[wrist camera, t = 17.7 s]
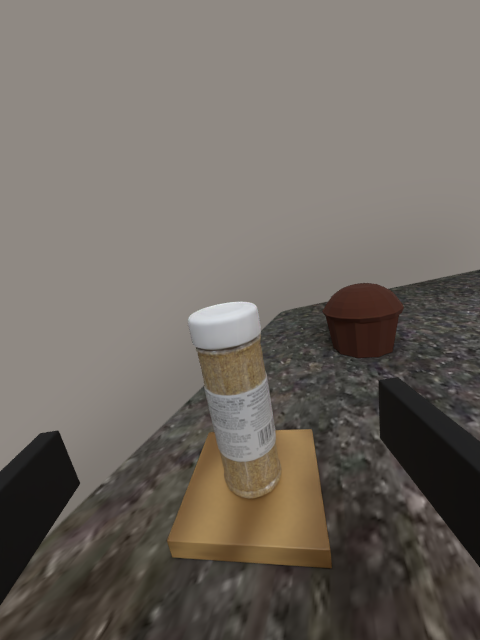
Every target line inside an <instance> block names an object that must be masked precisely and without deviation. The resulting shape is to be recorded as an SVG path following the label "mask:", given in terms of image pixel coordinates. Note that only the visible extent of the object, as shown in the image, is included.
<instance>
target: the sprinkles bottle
mask: <svg viewBox="0 0 480 640" xmlns="http://www.w3.org/2000/svg"><path fill="white" fill-rule="evenodd" d="M188 324H189V330H190V334H191V339H192V343H193V345H194V346H196V351H197V352H198V356H199V360H200V365H201V369H202V374H203V378H204V384H205V385H204V388H205V393H206V397H207V402H208V406H209V410H210V415H211V419H212V423H213V428H214V432H215V436H216V441H217V445H218V448H219V450H220V454H221V459H222V463H223V467H224V478H225V482H226V484H227V486H228V488H229V490H231V491H232V492H233V493H235V494H236V495H238V496H240V497H243V498H248V499H250V498H257V497H260V496H263V495H265V494H267V493H269V492H271V491H272V490H273V489H274V488H275V487H276V485H277V483H278V482H279V480H280V477H281V470H282V469H281V464H280V460H279V459H278V453H277V447H276V432H275V426H274V419H273V413H272V406H271V399H270V393H269V386H268V380H267V374H266V372H265V368H264V362H263V356H262V350H261V345H260V339H261V335H260V333H261V327H260V320H259V315H258V309H257V307H256V305H255V304H253V303H250V302H230V303H223V304H218V305H213V306H210V307H206V308H203V309H201V310H198V311H196V312H194V313H193V314H191V315H190V317H189V318H188Z"/></svg>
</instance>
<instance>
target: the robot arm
mask: <svg viewBox="0 0 480 640" xmlns="http://www.w3.org/2000/svg"><path fill="white" fill-rule="evenodd" d="M379 416H380V438H381V440H382V441H383V442H384V444H385V445H386V446H387V448H388V449H389V450H390V451H391V453H392V454H393V455H394V457H395V458H396V459H397V461H398V462H399V463H400V464H401V466H402V467H403V468H404V470H405V471H406V472H407V473H408V475H409V476H410V477H411V479H412V480H413V481H414V483H415V484H416V485H417V486H418V488H419V489H420V490H421V492H422V493H423V494H424V496H425V497H426V498H427V499H428V501H429V502H430V503H431V505H432V506H433V507H434V508H435V510H436V511H437V512H438V514H439V515H440V516H441V518H442V519H443V520H444V521H445V523H446V524H447V525H448V527H449V528H450V529H451V531H452V532H453V533H454V534H455V536H456V537H457V538H458V540H459V541H460V542H461V543H462V545H463V546H464V547H465V549H466V550H467V551H468V553H469V554H470V555H471V556H472V558H473V559H474V560H475V562H476V563H477V564H478V566H479V567H480V441H478V440H477V439H476V438H475V437H473V436H472V435H471V434H470V433H468V432H467V431H466V430H464V429H463V428H462V427H461V426H459V425H458V424H457V423H456V422H454V421H453V420H452V419H450V418H449V417H448V416H447V415H445V414H444V413H443V412H441V411H440V410H439V409H438V408H436V407H435V406H434V405H433V404H431V403H430V402H429V401H427V400H426V399H425V398H424V397H422V396H421V395H420V394H419V393H417V392H416V391H415V390H413V389H412V388H411V387H410V386H408V385H407V384H406V383H405V382H403V381H402V380H401V379H399V378H398V377H396V378H390V379H383V380H379ZM79 484H80V482H79V480H78V477H77V475H76V472H75V470H74V467H73V465H72V462H71V460H70V457H69V455H68V453H67V450H66V448H65V445H64V443H63V440H62V438H61V435H60V433H59V431H52V432H46V433H40V434H39V435H38V436H37V437H36V438H35V439H34V440H33V441H32V442H31V443H30V444H29V445H28V446H27V447H25V448H24V449H23V450H22V451H21V452H20V453H19V454H18V455H17V456H16V457H15V458H14V459H13V460H12V461H11V462H10V463H9V464H8V465H7V466H6V467H4V468H3V470H1V471H0V605H1V603H2V602H3V600H4V599H5V597H6V596H7V594H8V593H9V591H10V590H11V588H12V587H13V585H14V584H15V582H16V581H17V579H18V578H19V576H20V575H21V573H22V571H23V570H24V568H25V567H26V565H27V564H28V562H29V561H30V559H31V558H32V556H33V555H34V553H35V552H36V550H37V549H38V547H39V546H40V544H41V543H42V541H43V539H44V538H45V536H46V535H47V533H48V532H49V530H50V529H51V527H52V526H53V524H54V523H55V521H56V519H57V518H58V517H59V515H60V514H61V512H62V510H63V509H64V507H65V506H66V504H67V503H68V501H69V499H70V498H71V497H72V495H73V494H74V492H75V491H76V489H77V488H78V486H79Z"/></svg>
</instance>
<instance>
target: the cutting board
mask: <svg viewBox="0 0 480 640" xmlns="http://www.w3.org/2000/svg"><path fill="white" fill-rule="evenodd" d="M275 432H276V447H277V453H278V459H279V460H280V464H281V469H282V470H281V477H280V480H279V482H278V483H277V485H276V487H275V488H274V489H273V490H272V491H271V492H269V493H267V494H265V495H263V496H260V497H257V498H250V499H248V498H243V497H240V496H238V495H236V494H235V493H233V492H232V491H231V490H229V488H228V486H227V484H226V482H225V478H224V467H223V463H222V459H221V454H220V450H219V448H218V445H217V441H216V436H215V432H209V434H208V436H207V439H206V441H205V444H204V447H203V449H202V452H201V454H200V457H199V459H198V462H197V465H196V467H195V470H194V472H193V475H192V478H191V480H190V483H189V485H188V488H187V491H186V493H185V496H184V498H183V501H182V504H181V506H180V509H179V511H178V514H177V516H176V519H175V522H174V524H173V527H172V529H171V532H170V535H169V537H168V540H167V542H168V545H169V549H170V552H171V555H172V557H175V558H190V559H204V560H219V561H234V562H248V563H263V564H277V565H292V566H307V567H321V568H332V562H331V552H330V544H329V538H328V531H327V525H326V518H325V512H324V505H323V499H322V492H321V486H320V479H319V473H318V466H317V459H316V453H315V446H314V440H313V433H312V429H304V430H275Z"/></svg>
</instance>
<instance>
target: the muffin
mask: <svg viewBox="0 0 480 640" xmlns="http://www.w3.org/2000/svg"><path fill="white" fill-rule="evenodd" d="M403 308H404V307H403V304H402V303H401V302H400V300H399V299H398V298H397V297H396V295H395V294H394V293H393V292H392V291H390V290H389V289H387V288H385V287H382V286H380V285H377V284H371V283H360V284H354V285H350V286H347V287H344V288H342V289H341V290H339V291H338V292H336V293H335V294H334V295H333V296H332V297H331V299H330V300H329V302H328V303H327V305H326V306H325V308H324V309H323V311H322V312H323V313H324V315H325V316H326V319H327V323H328V327H329V331H330V335H331V339H332V343H333V347H334V348H335V349H336V350H338V351H339V353H340V354H343V355H348V356H352V357H356V358H365V357H380V356H382V355H384V354H387V353H390V352H392V351H393V346H394V340H395V334H396V329H397V323H398V317H399V314H400V313H402V311H403Z"/></svg>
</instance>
